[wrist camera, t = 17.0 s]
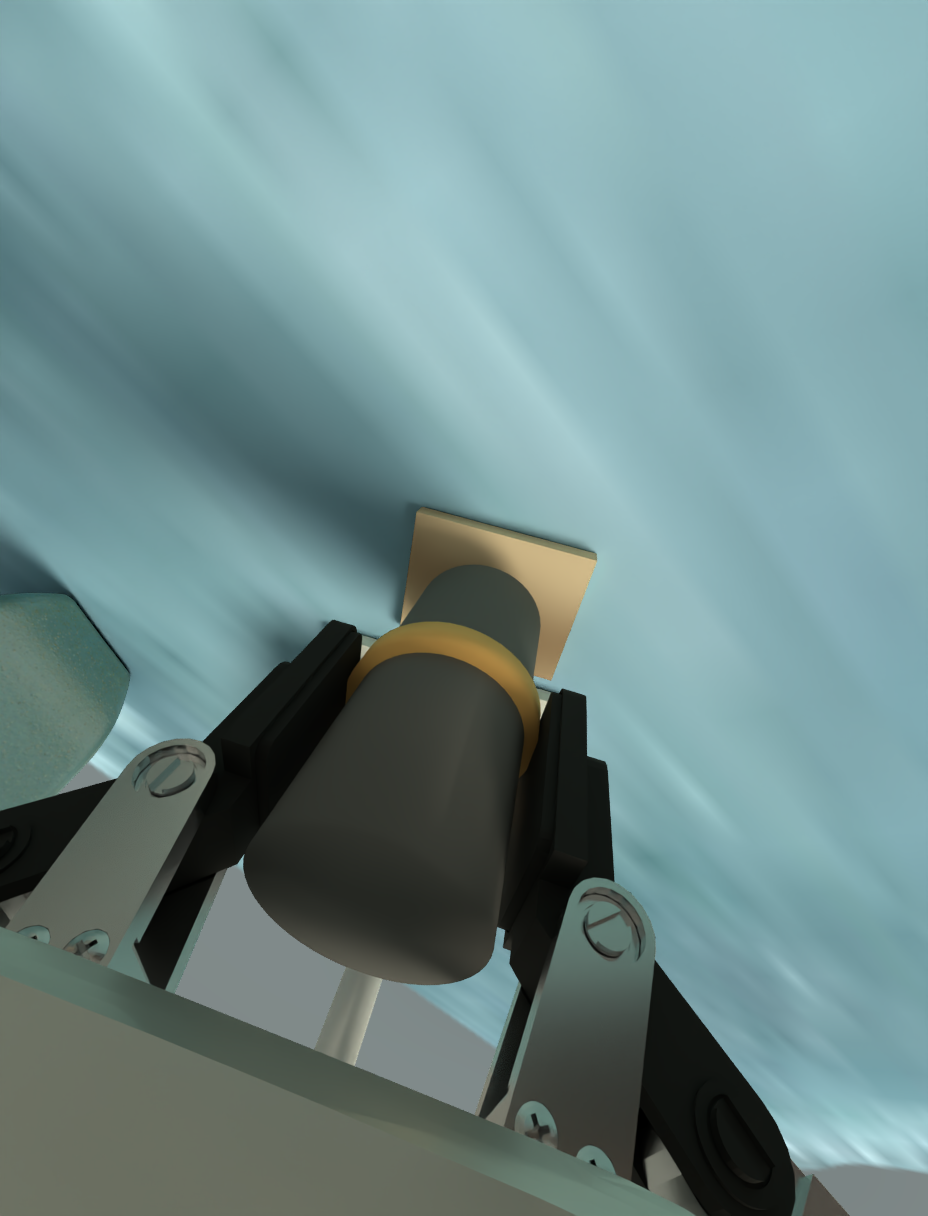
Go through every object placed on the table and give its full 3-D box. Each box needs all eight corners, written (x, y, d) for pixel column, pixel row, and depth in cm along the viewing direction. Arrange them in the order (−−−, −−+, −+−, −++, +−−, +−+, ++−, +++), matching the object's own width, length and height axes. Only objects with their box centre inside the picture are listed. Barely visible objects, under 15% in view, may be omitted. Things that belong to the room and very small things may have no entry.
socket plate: (332, 626, 19) (114, 861, 10) (569, 698, 18) (556, 1027, 9) (321, 854, 27) (200, 1084, 19) (479, 910, 26) (428, 1181, 18)
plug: (421, 537, 14) (213, 762, 6) (569, 578, 13) (556, 880, 5) (402, 657, 16) (234, 932, 8) (528, 696, 15) (477, 1025, 8)
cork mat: (422, 506, 15) (416, 512, 15) (596, 553, 15) (596, 560, 14) (404, 626, 18) (398, 635, 17) (552, 670, 17) (551, 680, 17)
